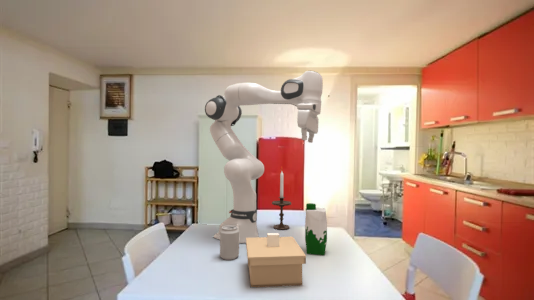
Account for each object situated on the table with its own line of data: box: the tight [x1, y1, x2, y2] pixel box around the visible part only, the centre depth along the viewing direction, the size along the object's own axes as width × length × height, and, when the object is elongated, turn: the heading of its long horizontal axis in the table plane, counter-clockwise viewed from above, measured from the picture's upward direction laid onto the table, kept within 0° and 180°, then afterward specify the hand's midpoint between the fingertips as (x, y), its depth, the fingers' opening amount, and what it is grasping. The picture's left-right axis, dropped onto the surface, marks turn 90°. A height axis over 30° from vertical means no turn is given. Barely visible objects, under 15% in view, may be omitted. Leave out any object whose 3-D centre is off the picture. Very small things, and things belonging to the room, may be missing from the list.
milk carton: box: [304, 202, 328, 256], centre depth 114 cm, size 9×9×20 cm
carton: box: [248, 264, 303, 288], centre depth 92 cm, size 16×18×9 cm
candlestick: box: [271, 165, 292, 231], centre depth 152 cm, size 11×11×35 cm
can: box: [219, 225, 240, 261], centre depth 107 cm, size 8×8×12 cm
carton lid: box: [245, 232, 307, 267], centre depth 92 cm, size 18×20×6 cm
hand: (307, 141), depth 114 cm, fingers open, 8 cm apart
